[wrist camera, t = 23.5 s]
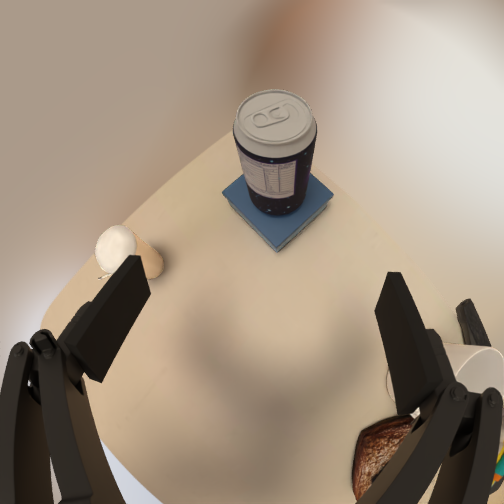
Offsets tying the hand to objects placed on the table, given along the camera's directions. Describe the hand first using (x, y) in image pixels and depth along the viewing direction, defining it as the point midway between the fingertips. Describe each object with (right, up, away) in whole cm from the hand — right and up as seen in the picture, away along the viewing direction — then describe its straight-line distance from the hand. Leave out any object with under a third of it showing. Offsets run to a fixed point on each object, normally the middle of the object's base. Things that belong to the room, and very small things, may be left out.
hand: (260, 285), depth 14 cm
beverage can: (+2, +8, +14) cm, 16 cm away
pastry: (+17, -23, +8) cm, 29 cm away
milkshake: (-12, 0, +17) cm, 21 cm away
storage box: (+2, +7, +17) cm, 18 cm away
